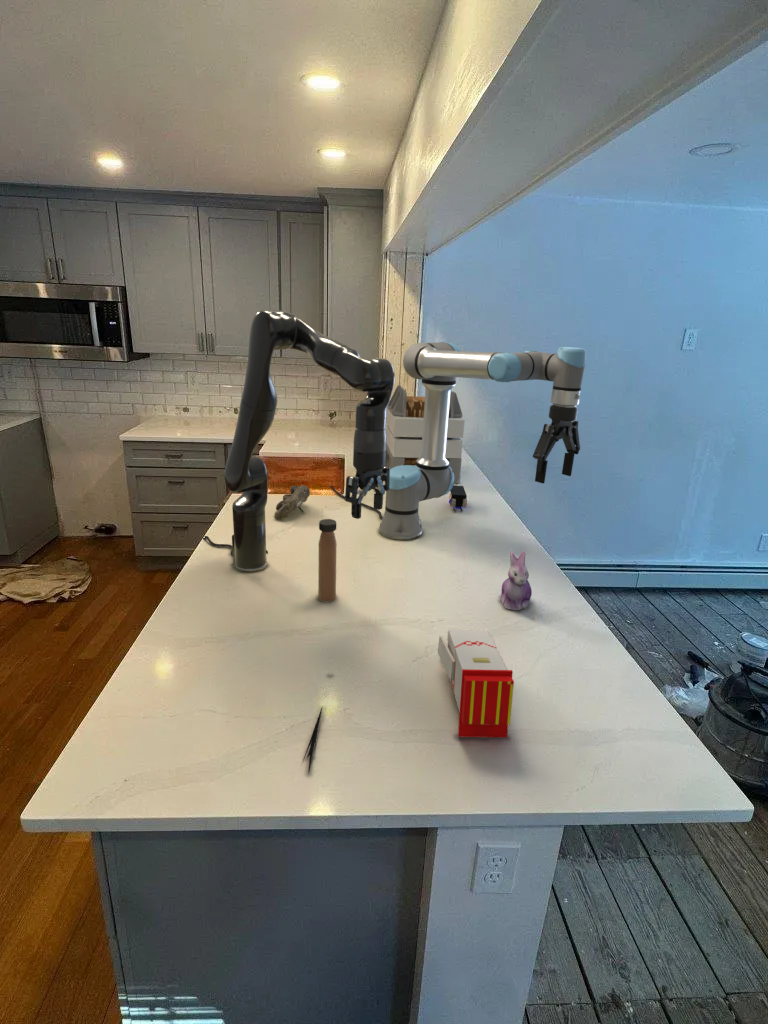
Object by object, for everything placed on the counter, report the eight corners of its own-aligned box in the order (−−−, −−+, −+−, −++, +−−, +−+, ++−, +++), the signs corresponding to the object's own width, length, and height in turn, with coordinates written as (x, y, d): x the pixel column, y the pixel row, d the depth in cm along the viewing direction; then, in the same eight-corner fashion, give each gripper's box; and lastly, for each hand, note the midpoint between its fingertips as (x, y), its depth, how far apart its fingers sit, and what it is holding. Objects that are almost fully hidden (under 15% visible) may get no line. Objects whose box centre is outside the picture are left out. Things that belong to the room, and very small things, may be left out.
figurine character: (467, 516, 223) (461, 500, 237) (469, 499, 220) (463, 483, 233) (450, 516, 223) (446, 499, 236) (452, 498, 220) (447, 483, 233)
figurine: (514, 615, 149) (521, 563, 144) (490, 597, 158) (496, 548, 153) (541, 608, 153) (549, 557, 148) (516, 591, 162) (523, 543, 157)
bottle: (339, 596, 155) (340, 522, 148) (329, 603, 151) (330, 528, 144) (324, 591, 157) (325, 518, 150) (314, 598, 153) (314, 524, 146)
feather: (331, 679, 122) (336, 673, 122) (307, 777, 96) (313, 769, 95) (324, 675, 122) (329, 669, 121) (298, 772, 95) (304, 764, 95)
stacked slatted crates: (382, 463, 289) (386, 382, 275) (445, 464, 293) (451, 384, 279) (390, 482, 257) (394, 392, 243) (460, 483, 261) (468, 394, 247)
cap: (339, 528, 148) (339, 521, 148) (330, 533, 145) (330, 526, 144) (325, 524, 150) (325, 517, 150) (315, 529, 147) (315, 522, 146)
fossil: (279, 491, 226) (308, 470, 221) (295, 509, 228) (323, 489, 223) (264, 515, 206) (294, 493, 201) (281, 534, 209) (312, 514, 204)
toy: (488, 613, 130) (523, 677, 101) (484, 667, 133) (517, 744, 104) (435, 612, 130) (455, 676, 101) (432, 666, 133) (451, 743, 103)
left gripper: (375, 440, 138) (372, 502, 144) (337, 449, 127) (336, 517, 133) (400, 445, 134) (396, 509, 140) (363, 455, 123) (361, 525, 129)
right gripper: (550, 410, 147) (538, 488, 154) (600, 404, 163) (587, 475, 170) (526, 406, 152) (516, 482, 160) (576, 400, 168) (565, 469, 175)
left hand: (367, 513), depth 137 cm, fingers open, 8 cm apart
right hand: (553, 478), depth 165 cm, fingers open, 13 cm apart
